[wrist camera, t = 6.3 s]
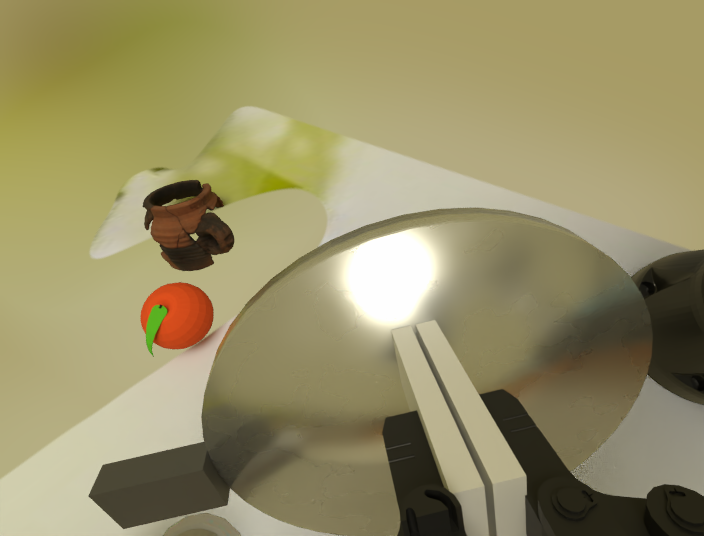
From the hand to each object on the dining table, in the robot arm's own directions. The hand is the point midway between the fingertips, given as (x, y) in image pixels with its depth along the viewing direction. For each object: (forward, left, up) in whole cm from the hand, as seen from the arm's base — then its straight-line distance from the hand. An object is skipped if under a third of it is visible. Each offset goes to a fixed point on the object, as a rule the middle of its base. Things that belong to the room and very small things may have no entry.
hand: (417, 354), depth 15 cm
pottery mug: (+18, -22, -26) cm, 39 cm away
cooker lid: (+2, +2, -5) cm, 6 cm away
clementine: (+21, -11, -26) cm, 35 cm away
